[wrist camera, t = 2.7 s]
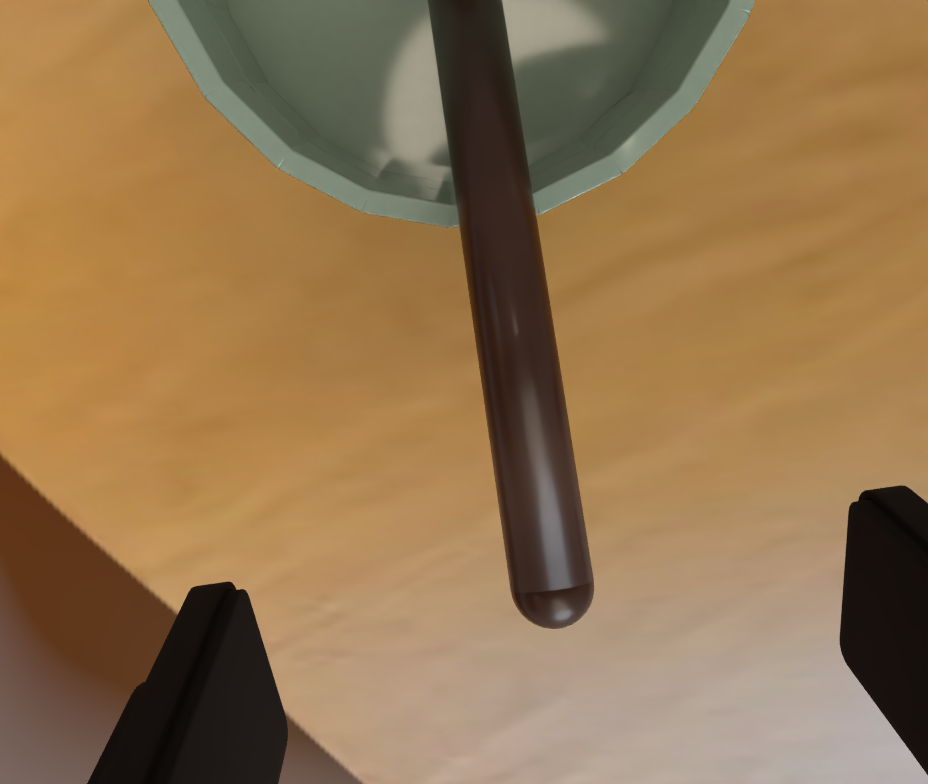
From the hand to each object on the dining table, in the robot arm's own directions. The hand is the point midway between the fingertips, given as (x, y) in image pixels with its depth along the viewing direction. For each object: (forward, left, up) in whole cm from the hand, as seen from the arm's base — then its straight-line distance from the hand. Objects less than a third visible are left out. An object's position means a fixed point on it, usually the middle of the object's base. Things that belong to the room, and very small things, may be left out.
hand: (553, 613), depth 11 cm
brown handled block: (0, -7, -14) cm, 16 cm away
